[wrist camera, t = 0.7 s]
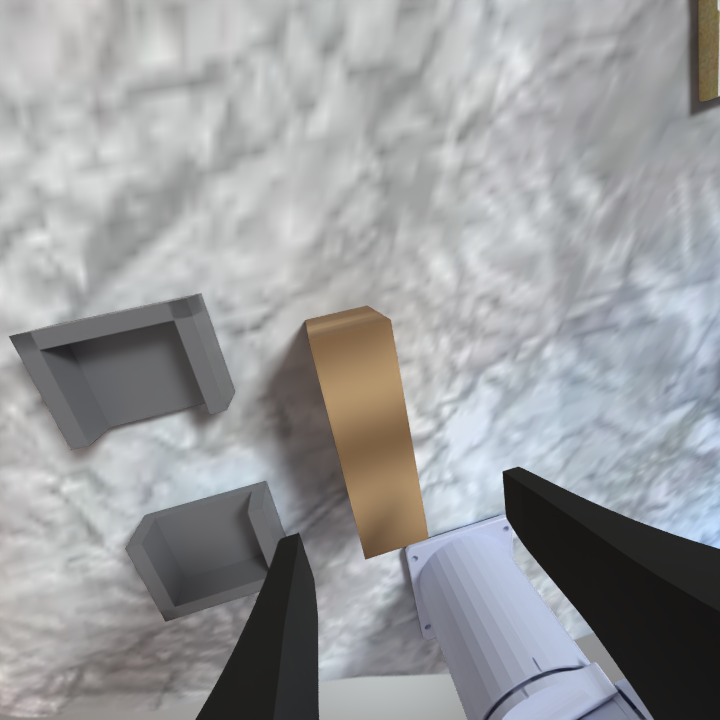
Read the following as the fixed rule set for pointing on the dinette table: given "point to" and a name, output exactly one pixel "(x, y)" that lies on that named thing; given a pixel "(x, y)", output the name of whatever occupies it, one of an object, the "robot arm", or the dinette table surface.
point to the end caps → (147, 399)
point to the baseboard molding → (709, 49)
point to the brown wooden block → (369, 426)
